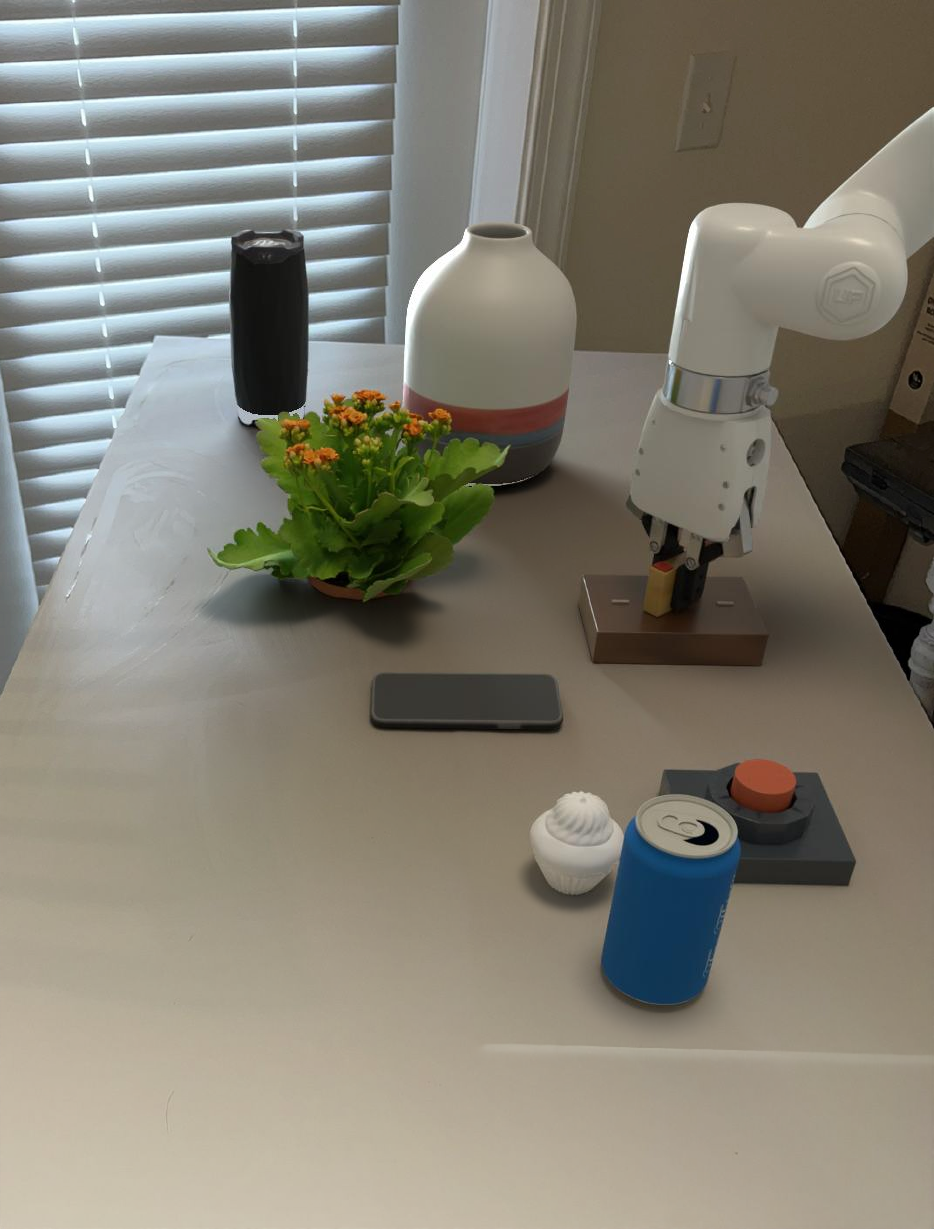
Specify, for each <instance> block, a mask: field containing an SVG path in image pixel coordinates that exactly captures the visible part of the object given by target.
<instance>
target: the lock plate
mask: <svg viewBox="0 0 934 1229" xmlns="http://www.w3.org/2000/svg"><path fill="white" fill-rule="evenodd" d="M648 576H649V575H638V574H582V576H581V577H582V578H581V582H580V583H581V584H580V590H579V598H578V607H579V611H580V617H581V620H582V624H583V628H584V633H585V636H586V640H587V645H588V649H589V654H590V657H591V662H592V663H594V664H596V663H597V664H599V663H600V664H643V665H647V664H648V665H694V666H695V665H696V666H697V665H698V666H699V665H700V666H702V665H703V666H748V667H749V666H756V667H757V666H758V667H761V666H762V665H763V661H764V657H765V653H766V648H767V645H768V640H769V638H770V637H769V636H770V633H769V632H768V630H767V628H766V625H765V623H764V621H763V618H762V616H761V614H760V612H759V609H758V607H757V605H756V603H755V600H754V598H753V596H752V594H751V592H750V590H749V588H748V585H747V584H746V581H745V579H744V577H743V576H706V581H705V585H704V590H703V595H702V596H701V598H700V599H699V600H698V601H697V602H695V603H693V604H691V605H689V606H687V607H685V608H683V609H681V610H679V611H676V610H674V609H673V610H671V611H669V612H667V613H665V614H662V615H660V616H658V617H656V616H654V615H652V614H650V613H648V612H646V611H644V610H643V605H644V599H645V593H646V588H647V582H648Z"/></svg>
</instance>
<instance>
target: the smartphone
mask: <svg viewBox="0 0 934 1229" xmlns="http://www.w3.org/2000/svg"><path fill="white" fill-rule="evenodd" d="M559 688H560V687H559V682H558V680H557V678H556V677H555V676H553V675H551V674H549V673H515V672H514V673H508V672H507V673H506V672H505V673H504V672H503V673H502V672H501V673H500V672H496V673H495V672H491V673H490V672H488V673H487V672H394V671H393V672H392V671H391V672H389V671H388V672H386V671H384V672H379V673H376V674H375V675H374V676H373V677H372V679H371V688H370V690H371V691H370V692H371V693H370V714H369V715H370V720H371V722H372V723H373V725H374V726H376V727H379V728H402V729H403V728H406V729H407V728H411V729H412V728H413V729H478V730H479V729H481V730H482V729H485V730H487V729H488V730H493V729H494V730H555V729H558V728H560V727H561V726H562V724H563V722H564V712H563V707H562V701H561V695H560V694H561V693H560V689H559Z"/></svg>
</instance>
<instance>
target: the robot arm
mask: <svg viewBox="0 0 934 1229" xmlns="http://www.w3.org/2000/svg"><path fill="white" fill-rule="evenodd" d="M688 230H689V231H688V235H687V238H686V239H687V240H686V245H685V252H684V258H683V263H682V269H681V275H680V281H679V288H678V293H677V300H676V305H675V306H676V307H675V312H674V318H673V324H672V330H671V336H670V342H669V348H668V355H667V360H666V366H665V373H664V378H663V385H662V387H660V388H659V389H658V390H657V391H656V393H655V395H654V397H653V400H652V402H651V404H650V407H649V410H648V413H647V416H646V418H645V422H644V425H643V427H642V431H641V435H640V439H639V443H638V447H637V450H636V456H635V459H634V465H633V470H632V474H631V475H632V476H631V482H630V493H629V496H628V498H627V499H626V501H625V506H626V508H627V510H628V511H629V512H630V513H631V514H632V515H633V516H634V517H635V518H636V519H637V520H638V521H641V525H642V527H643V529H644V531H645V534H646V536H647V537H648V546H647V547H648V550H649V551H650V553H652V554H653V556H652V563H651V567H652V566H653V564H656V563H658V562H660V561H662V562H663V561H665V560H667V559H670V558H672V557H674V556H676V555H678V554H681V553H683V552H685V546H683V545H681V544H680V543H681V541H682V535H683V530H684V531H687V532H689V533H690V535H689V539H688V543H687V548H686V551H687V552H686V557H685V564H682V565H680V566H679V567H678V568H677V572H676V578H675V583H674V588H673V593H672V599H671V604H670V606H671V608H672V609H674V610H676V611H679V610H681V609H683V608H685V607H687V606H689V605H691V604H693V603H695V602H697V601H698V600H699V599H700V598H701V596H702V594H703V590H704V585H705V581H706V577H708V571H709V566H710V563H712V562H713V561H716V560H717V559H719V558H728V559H729V558H731V559H732V558H733V559H734V558H736V559H737V558H742V557H744V556H747V555H749V554H751V553H752V552H753V550H754V545H753V544H754V543H753V535H752V534H753V533H752V529H753V528H755V527H757V526H758V524H759V523H760V519H761V516H762V512H763V508H764V502H765V497H766V496H765V495H766V491H767V485H768V478H769V471H770V461H771V450H772V414H771V413H772V412H771V409H770V408H768V407H772V406H773V405H774V404H775V403H776V401H777V399H778V397H779V388H777V387H774V386H771V384H770V383H769V380H770V377H771V364H772V360H773V355H774V350H775V347H776V341H777V336H778V332H779V328H783V329H787V330H791V331H793V332H798V333H801V334H804V335H808V336H812V337H815V338H816V337H817V338H820V339H825V340H830V341H853V340H856V339H857V340H858V339H861V338H864V337H867V336H870V335H872V334H874V333H876V332H877V331H879V330H881V328H883V327H884V326H886V325H887V324H888V323H889V322H890V321H891V320H892V319H893V317H894V316H895V315H896V314H897V312H898V311H899V309H900V307H901V305H902V303H903V301H904V298H905V295H906V292H907V287H908V281H909V276H908V275H909V274H908V263H907V260H908V259H909V258H910V257H912V256H913V255H914V254H915V253H917V252H918V251H919V250H920V249H921V248H922V247H923V246H925V245H926V244H927V243H928V242H929V241H930V240H932V239H933V238H934V106H933V107H931V108H930V109H929V110H927V111H926V112H925V113H923V114H922V115H921V116H919V118H917V119H915V120H914V121H913V122H912V123H910V124H909V125H908V126H907V127H905V128H904V129H903V130H902V131H900V133H898V134H896V136H895V137H894V138H892V139H891V140H890V141H889V142H887V144H885V146H884V147H882V148H881V149H880V150H879V151H878V152H876V153H875V155H873V156H872V157H871V158H870V159H869V160H868V161H867V162H865V163H864V164H863V165H862V166H861V167H859V169H857V171H855V172H854V173H853V174H852V175H851V176H850V177H848V178H847V180H845V181H844V182H843V183H842V184H841V185H840V186H839V187H837V189H836V190H834V191H833V192H832V193H831V194H830V195H829V196H828V197H827V198H826V199H824V201H822V203H821V204H820V205H819V206H818V207H817V208H816V209H815V210H814V211H813V213H811V215H810V216H809V218H808V219H807V221H806V222H805V224H804V225H803V227H798V226H797V223H796V221H795V219H794V218H793V217H792V216H791V215H790V214H789V213H787V211H784V210H781V209H780V208H776V207H773V206H770V205H766V204H759V203H751V202H750V203H749V202H729V203H728V202H727V203H720V204H716V205H711V206H708V207H706V208H704V209H703V210H702V211H700V212H699V213H698V214H697V215H696V216H695V218H694V219H693V221H692V222H691V225H690V227H689V229H688ZM764 405H765V406H764ZM766 406H768V407H766Z"/></svg>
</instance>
